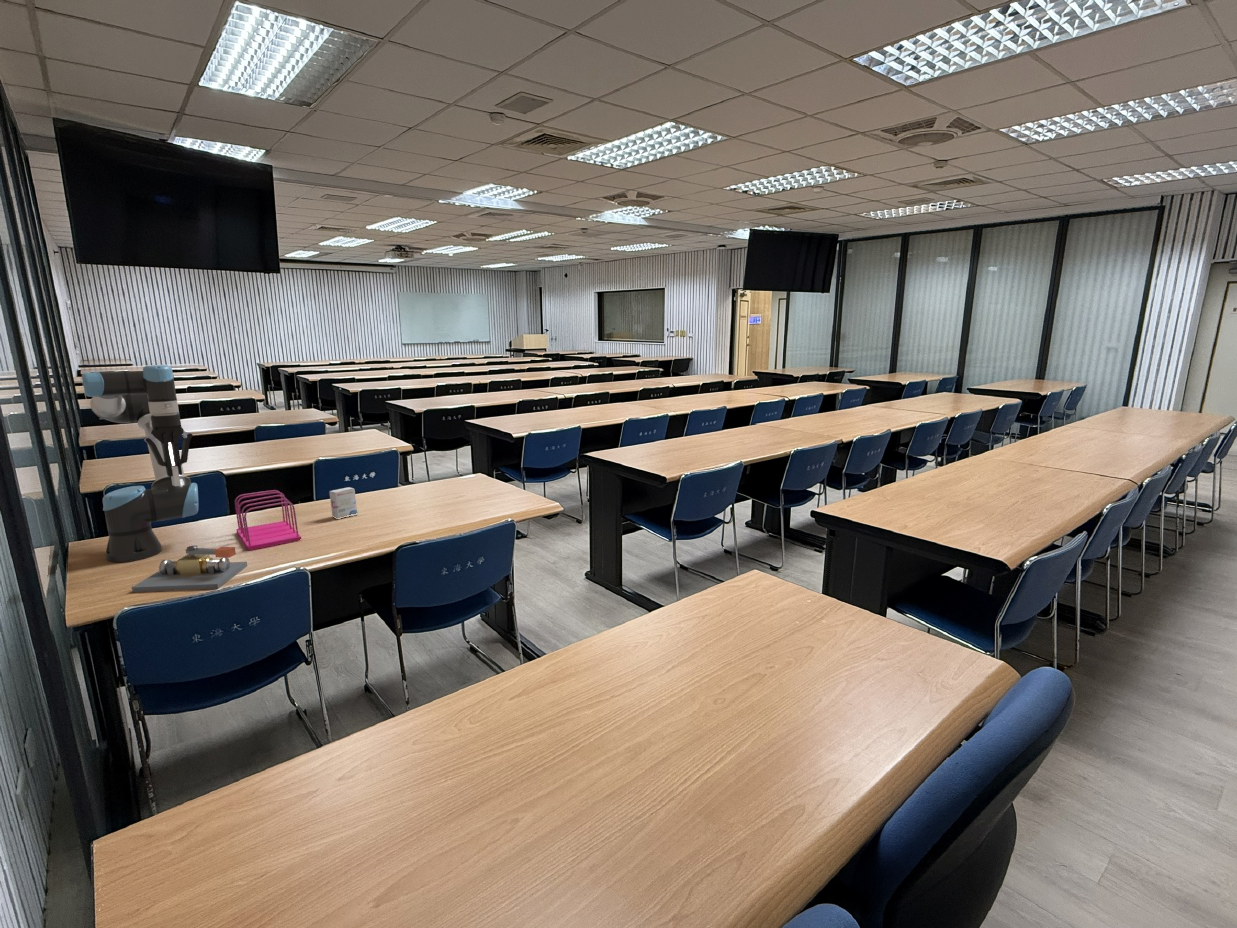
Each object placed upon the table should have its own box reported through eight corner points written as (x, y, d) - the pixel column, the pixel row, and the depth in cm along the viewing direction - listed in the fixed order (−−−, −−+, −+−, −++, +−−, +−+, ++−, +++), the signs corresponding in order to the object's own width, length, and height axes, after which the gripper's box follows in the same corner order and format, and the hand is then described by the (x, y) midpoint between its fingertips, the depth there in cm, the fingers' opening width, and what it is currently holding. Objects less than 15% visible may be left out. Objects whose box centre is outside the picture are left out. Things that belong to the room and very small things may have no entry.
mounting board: (132, 592, 180) (131, 587, 179) (169, 568, 197) (169, 564, 197) (218, 588, 182) (217, 583, 182) (247, 565, 200) (246, 561, 199)
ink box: (351, 513, 257) (349, 486, 255) (357, 515, 254) (355, 488, 252) (331, 517, 251) (328, 490, 248) (337, 520, 248) (334, 492, 245)
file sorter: (248, 551, 213) (242, 509, 210) (236, 533, 232) (230, 494, 228) (301, 540, 224) (297, 500, 220) (286, 524, 243) (282, 486, 239)
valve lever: (185, 557, 189) (183, 548, 188) (192, 553, 192) (191, 545, 191) (229, 558, 187) (227, 550, 187) (236, 555, 190) (234, 546, 190)
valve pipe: (159, 578, 187) (156, 561, 186) (171, 570, 193) (168, 554, 192) (222, 575, 189) (219, 558, 188) (231, 568, 195) (229, 552, 194)
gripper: (143, 417, 186) (156, 491, 191) (192, 413, 196) (203, 483, 201) (136, 415, 191) (149, 487, 196) (184, 411, 200) (195, 479, 206)
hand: (176, 485), depth 198 cm, fingers closed
